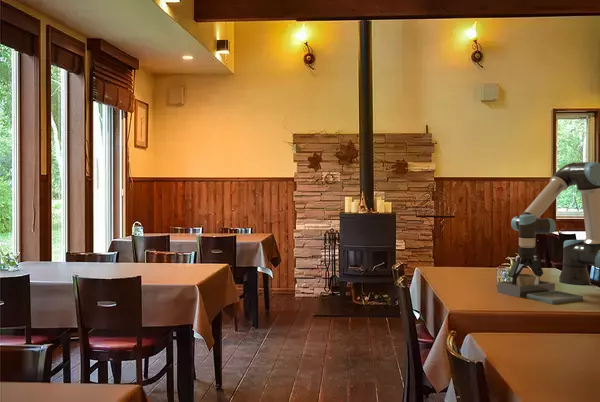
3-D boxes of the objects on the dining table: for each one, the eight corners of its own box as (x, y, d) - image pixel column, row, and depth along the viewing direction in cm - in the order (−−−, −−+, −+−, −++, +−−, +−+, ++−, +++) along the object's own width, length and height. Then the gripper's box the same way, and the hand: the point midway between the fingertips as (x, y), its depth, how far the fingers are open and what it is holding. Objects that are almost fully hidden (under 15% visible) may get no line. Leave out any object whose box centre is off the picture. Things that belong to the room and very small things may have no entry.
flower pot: (538, 295, 270) (538, 277, 270) (517, 294, 272) (517, 276, 271) (534, 291, 279) (534, 274, 279) (514, 290, 281) (514, 273, 281)
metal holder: (531, 288, 287) (531, 278, 287) (554, 293, 274) (555, 283, 274) (497, 292, 277) (497, 281, 276) (519, 297, 264) (520, 286, 264)
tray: (556, 294, 271) (557, 290, 271) (582, 300, 259) (583, 296, 259) (526, 298, 262) (526, 293, 262) (551, 304, 250) (551, 299, 250)
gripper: (539, 244, 283) (538, 287, 284) (501, 246, 273) (500, 290, 273) (551, 246, 277) (550, 289, 277) (513, 248, 266) (512, 293, 267)
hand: (525, 290), depth 275 cm, fingers open, 13 cm apart
